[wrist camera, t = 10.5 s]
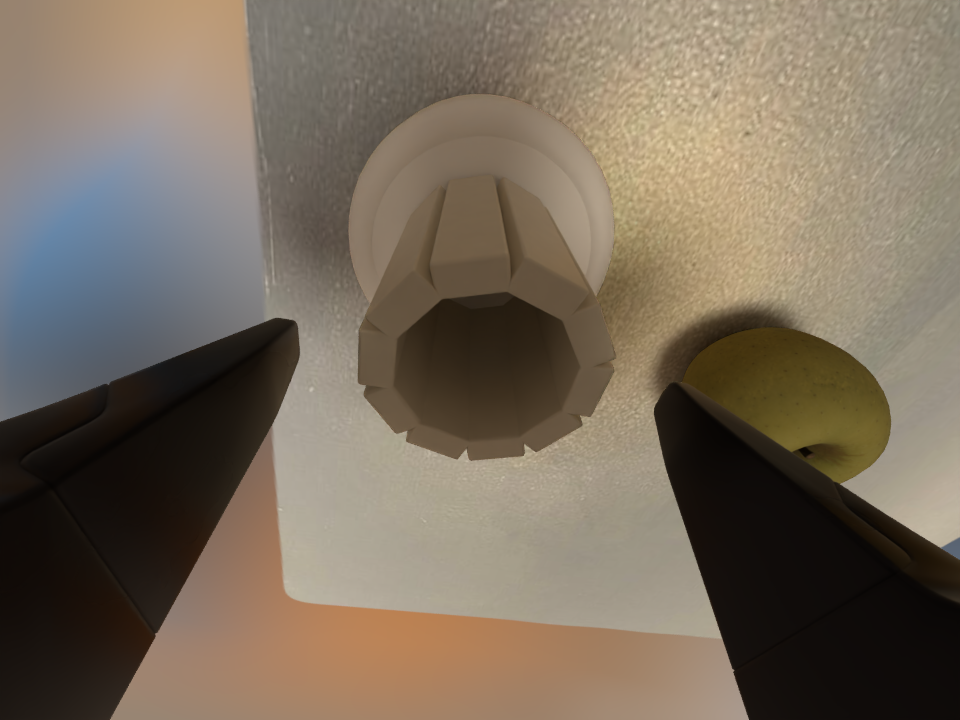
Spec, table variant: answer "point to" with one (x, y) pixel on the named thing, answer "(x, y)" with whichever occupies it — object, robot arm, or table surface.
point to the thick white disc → (477, 152)
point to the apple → (798, 396)
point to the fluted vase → (483, 327)
